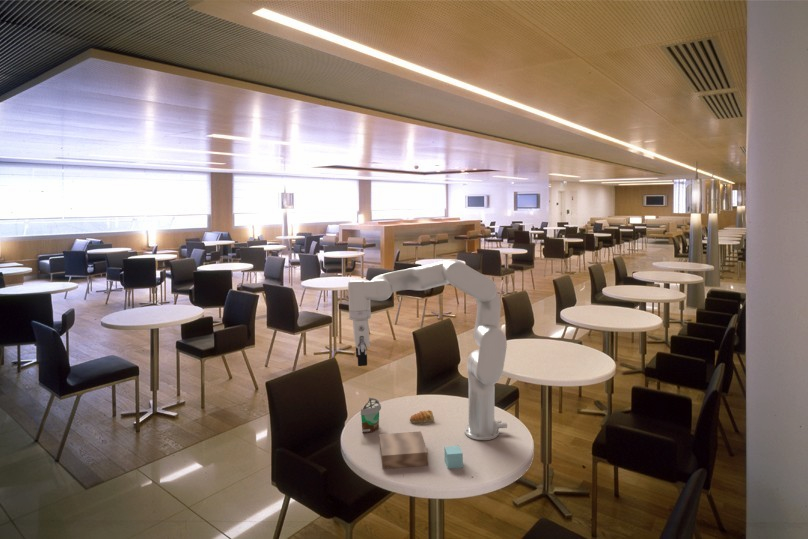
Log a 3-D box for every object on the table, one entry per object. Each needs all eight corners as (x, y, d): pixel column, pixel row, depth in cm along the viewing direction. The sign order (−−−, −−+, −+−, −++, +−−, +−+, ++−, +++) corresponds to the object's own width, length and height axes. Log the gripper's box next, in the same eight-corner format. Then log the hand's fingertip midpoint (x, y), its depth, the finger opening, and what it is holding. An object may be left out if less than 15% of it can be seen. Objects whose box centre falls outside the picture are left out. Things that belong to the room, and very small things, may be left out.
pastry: (413, 426, 186) (413, 417, 186) (407, 419, 192) (407, 410, 192) (435, 422, 189) (435, 413, 189) (429, 416, 195) (429, 407, 195)
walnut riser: (421, 443, 172) (421, 431, 172) (427, 465, 157) (427, 452, 157) (379, 446, 171) (379, 434, 170) (382, 468, 156) (382, 455, 155)
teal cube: (459, 459, 161) (459, 445, 160) (462, 467, 156) (462, 453, 155) (444, 460, 160) (444, 446, 159) (447, 468, 155) (447, 454, 154)
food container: (377, 436, 178) (376, 410, 177) (361, 435, 179) (360, 409, 178) (385, 421, 190) (384, 397, 189) (370, 420, 191) (369, 396, 190)
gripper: (373, 319, 160) (374, 368, 162) (368, 308, 177) (369, 353, 179) (350, 320, 159) (352, 370, 161) (348, 309, 176) (349, 354, 178)
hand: (361, 361), depth 170 cm, fingers open, 9 cm apart
